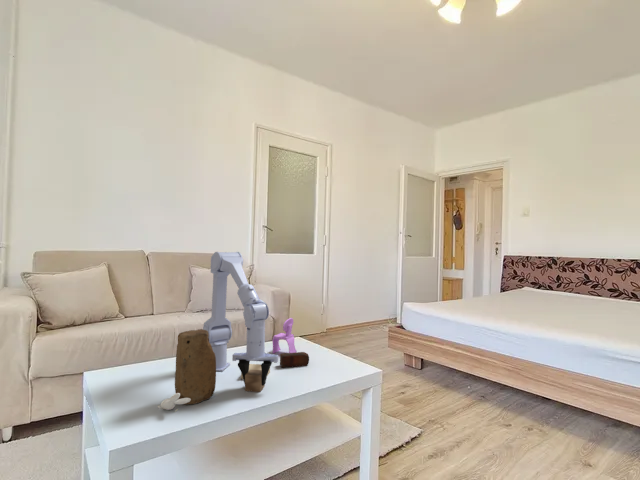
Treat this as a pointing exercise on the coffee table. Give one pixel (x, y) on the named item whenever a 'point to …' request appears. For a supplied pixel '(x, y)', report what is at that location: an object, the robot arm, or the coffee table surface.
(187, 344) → the brown rounded upright slab
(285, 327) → the toy chair
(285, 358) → the brick
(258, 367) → the oak base
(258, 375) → the walnut cube
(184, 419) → the coffee table surface
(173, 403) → the rabbit figurine
